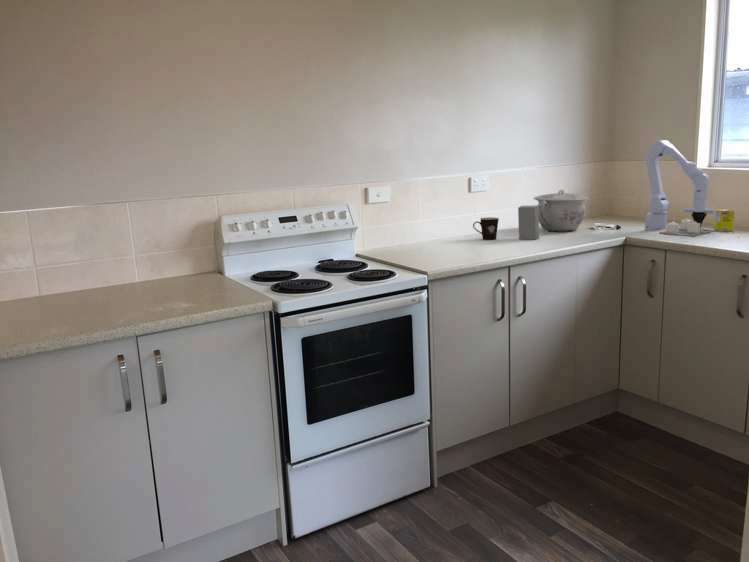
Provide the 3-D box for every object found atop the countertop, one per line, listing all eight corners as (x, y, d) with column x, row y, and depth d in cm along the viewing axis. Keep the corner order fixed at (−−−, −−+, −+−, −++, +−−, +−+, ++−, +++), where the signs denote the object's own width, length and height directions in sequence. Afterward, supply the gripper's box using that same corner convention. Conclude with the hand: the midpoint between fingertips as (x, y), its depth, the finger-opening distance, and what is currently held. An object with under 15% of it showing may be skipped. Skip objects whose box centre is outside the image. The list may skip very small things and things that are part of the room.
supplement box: (732, 233, 313) (734, 210, 311) (719, 234, 314) (721, 211, 311) (726, 232, 319) (728, 209, 317) (713, 232, 319) (715, 209, 317)
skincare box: (539, 238, 318) (539, 205, 315) (534, 240, 312) (535, 206, 309) (521, 237, 322) (522, 204, 319) (517, 239, 316) (517, 206, 313)
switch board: (658, 236, 311) (659, 232, 311) (682, 231, 326) (683, 226, 326) (693, 240, 299) (693, 235, 299) (716, 233, 314) (716, 229, 314)
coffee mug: (499, 238, 322) (499, 217, 320) (496, 240, 314) (497, 219, 312) (475, 237, 326) (475, 217, 324) (472, 240, 318) (472, 219, 316)
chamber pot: (577, 225, 357) (578, 186, 352) (595, 232, 330) (597, 190, 325) (525, 227, 356) (526, 188, 352) (539, 234, 329) (540, 192, 325)
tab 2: (680, 229, 320) (681, 219, 319) (684, 229, 322) (684, 218, 321) (688, 230, 317) (689, 219, 316) (692, 229, 319) (693, 219, 318)
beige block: (687, 232, 311) (687, 221, 309) (691, 231, 313) (691, 220, 312) (695, 233, 308) (696, 222, 306) (699, 232, 310) (700, 221, 309)
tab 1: (666, 233, 311) (666, 222, 310) (670, 232, 314) (670, 221, 313) (674, 234, 308) (675, 222, 307) (678, 233, 311) (679, 222, 310)
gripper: (680, 199, 315) (679, 227, 318) (712, 201, 304) (710, 230, 307) (687, 198, 320) (685, 226, 323) (718, 199, 309) (716, 228, 312)
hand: (698, 228), depth 315 cm, fingers closed
